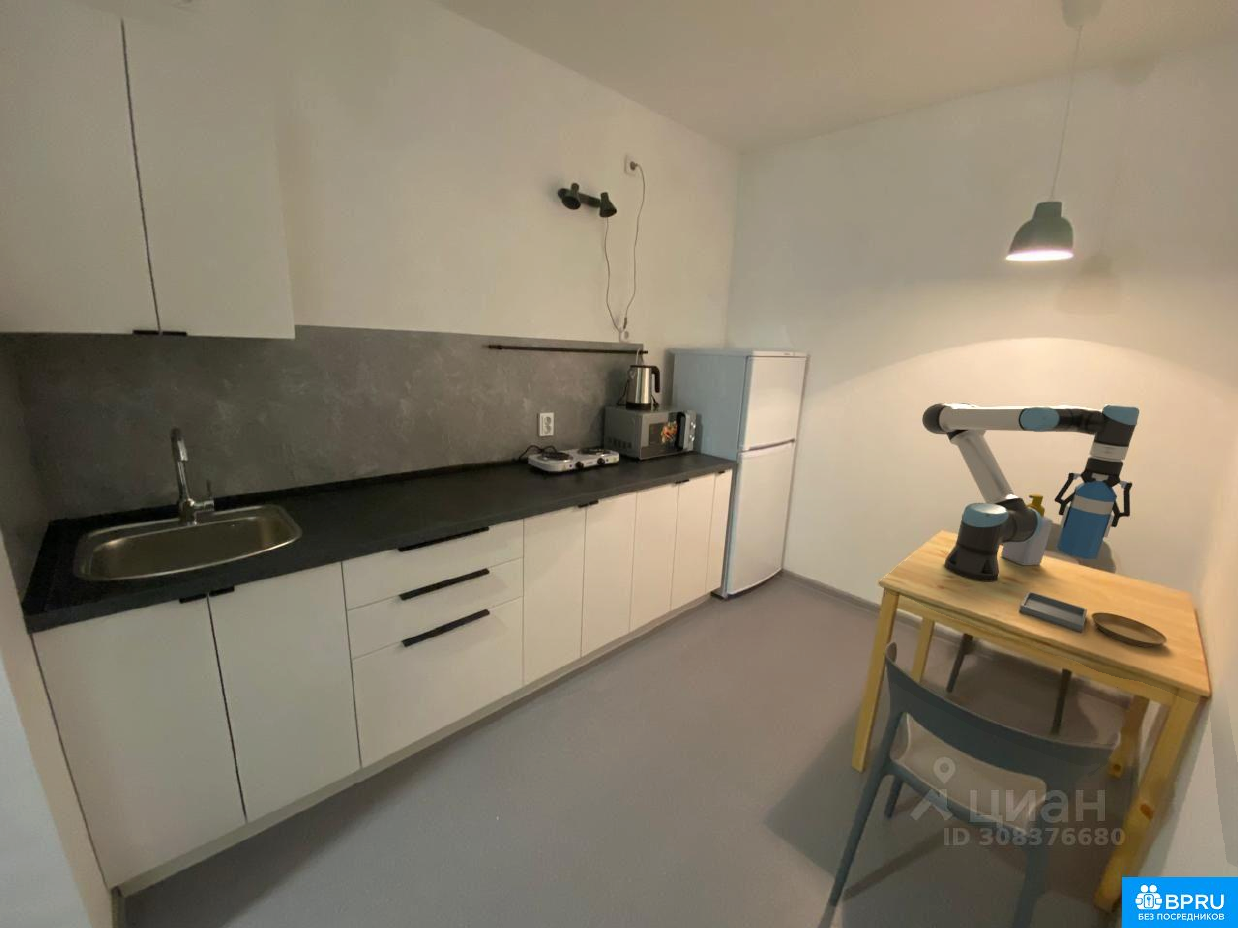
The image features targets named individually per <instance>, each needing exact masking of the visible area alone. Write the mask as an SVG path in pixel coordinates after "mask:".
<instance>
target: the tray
mask: <svg viewBox="0 0 1238 928" xmlns="http://www.w3.org/2000/svg"><path fill="white" fill-rule="evenodd" d="M1022 600H1023V601H1022V602H1021V604H1020V606H1019V610H1018V612H1019V613H1021V614H1024V615H1027V616H1030V617H1032V618H1035V619H1038V620H1041V621H1044V622H1047V623H1049V624H1053V625H1055V626H1057V627H1061V628H1065V629H1068V630H1071V631H1072V632H1076V633H1079V634H1081V633H1082V631H1083V629H1084V625H1085V622H1086V617H1087V613H1088V609H1087V608H1084V607H1080V606H1077V605H1074V604H1071V603H1068V602H1065V601H1062V600H1059V599H1055V598H1052V597H1049V596H1046V595H1043V594H1040V593H1037V592H1034V591H1029V590H1028V591H1027V592H1026V594H1025V596H1024V599H1022Z"/></svg>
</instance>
